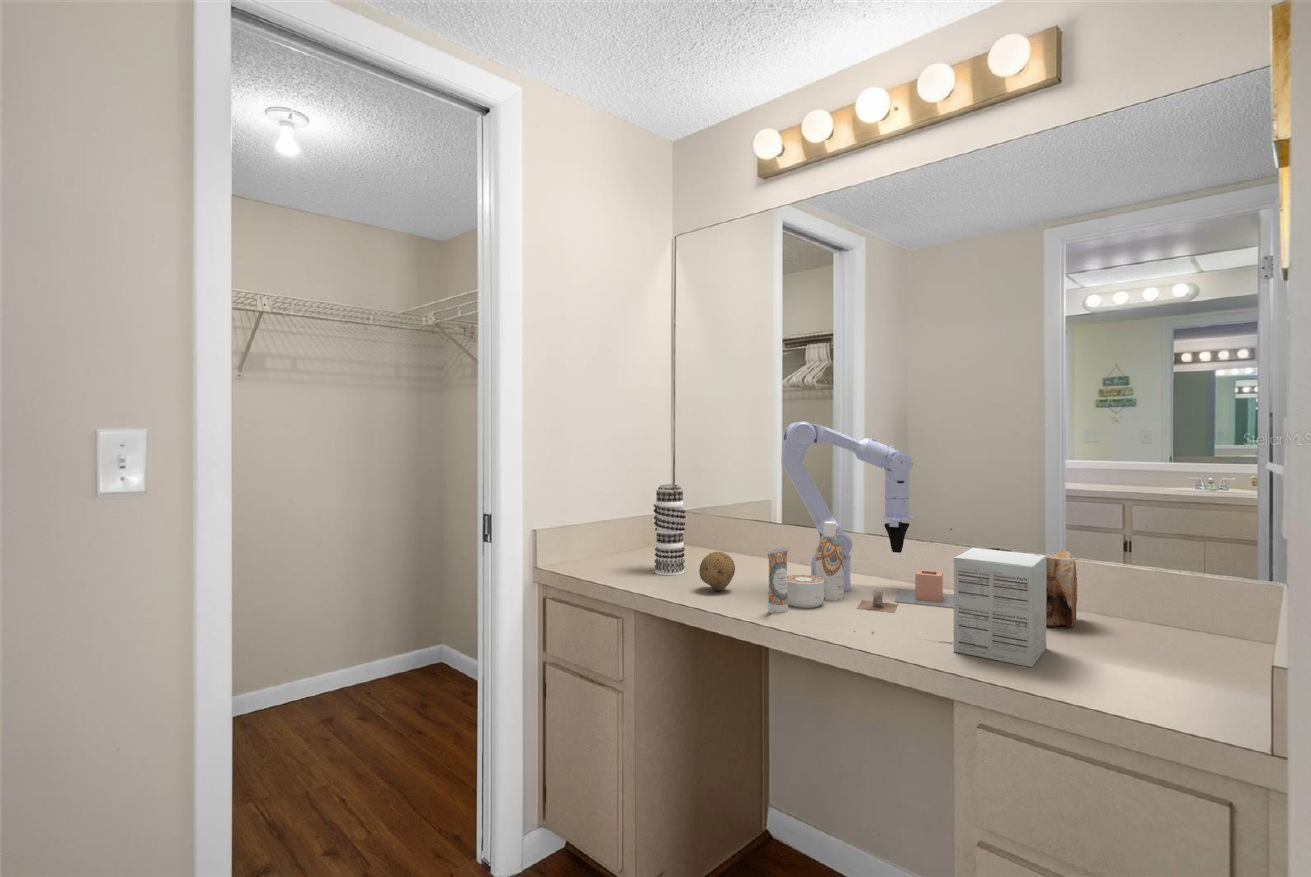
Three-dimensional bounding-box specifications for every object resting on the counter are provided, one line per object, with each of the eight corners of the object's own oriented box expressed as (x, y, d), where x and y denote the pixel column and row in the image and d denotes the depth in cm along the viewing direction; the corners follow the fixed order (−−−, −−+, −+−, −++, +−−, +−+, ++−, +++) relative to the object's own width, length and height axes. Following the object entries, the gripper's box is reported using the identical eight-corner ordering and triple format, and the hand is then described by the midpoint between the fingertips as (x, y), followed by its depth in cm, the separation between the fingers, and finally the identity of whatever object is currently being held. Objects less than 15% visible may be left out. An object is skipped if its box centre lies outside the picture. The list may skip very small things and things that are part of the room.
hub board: (894, 605, 154) (894, 581, 154) (900, 593, 166) (900, 571, 165) (961, 612, 148) (961, 588, 148) (962, 599, 159) (962, 576, 159)
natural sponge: (722, 597, 162) (722, 556, 162) (692, 591, 167) (692, 552, 167) (741, 590, 169) (741, 550, 169) (711, 585, 174) (711, 547, 174)
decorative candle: (648, 570, 193) (648, 484, 192) (676, 567, 196) (676, 483, 196) (661, 576, 184) (661, 486, 184) (691, 573, 188) (691, 485, 188)
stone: (1064, 635, 132) (1065, 559, 131) (1017, 624, 139) (1017, 552, 139) (1093, 622, 140) (1093, 551, 140) (1047, 613, 147) (1047, 545, 147)
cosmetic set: (783, 621, 142) (783, 533, 142) (751, 612, 149) (752, 528, 149) (854, 602, 157) (854, 523, 157) (822, 594, 164) (822, 519, 164)
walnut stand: (856, 612, 148) (856, 592, 148) (862, 603, 156) (862, 585, 156) (894, 616, 145) (894, 596, 145) (898, 607, 152) (898, 588, 152)
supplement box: (971, 634, 132) (971, 546, 132) (1047, 648, 124) (1047, 554, 123) (951, 652, 122) (952, 556, 122) (1033, 668, 113) (1034, 566, 113)
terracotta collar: (915, 599, 155) (915, 573, 155) (917, 594, 160) (917, 569, 160) (941, 602, 153) (941, 576, 153) (942, 596, 158) (942, 571, 158)
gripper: (911, 501, 159) (911, 558, 159) (916, 496, 172) (916, 548, 172) (880, 500, 162) (880, 556, 162) (887, 495, 175) (887, 546, 175)
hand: (896, 552), depth 167 cm, fingers closed
